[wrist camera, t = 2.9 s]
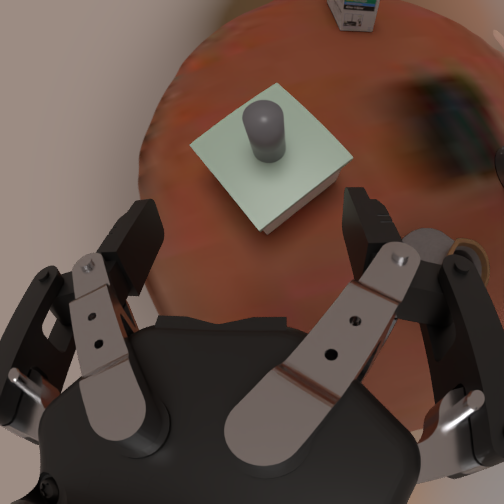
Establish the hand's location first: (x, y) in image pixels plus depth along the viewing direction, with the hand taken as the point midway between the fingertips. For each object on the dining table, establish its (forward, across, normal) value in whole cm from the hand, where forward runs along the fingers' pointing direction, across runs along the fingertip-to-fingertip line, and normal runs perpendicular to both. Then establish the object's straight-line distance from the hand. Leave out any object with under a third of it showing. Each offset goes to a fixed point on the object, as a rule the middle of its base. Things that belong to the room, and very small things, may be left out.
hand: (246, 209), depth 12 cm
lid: (+22, 0, +6) cm, 23 cm away
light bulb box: (+51, -17, -13) cm, 55 cm away
